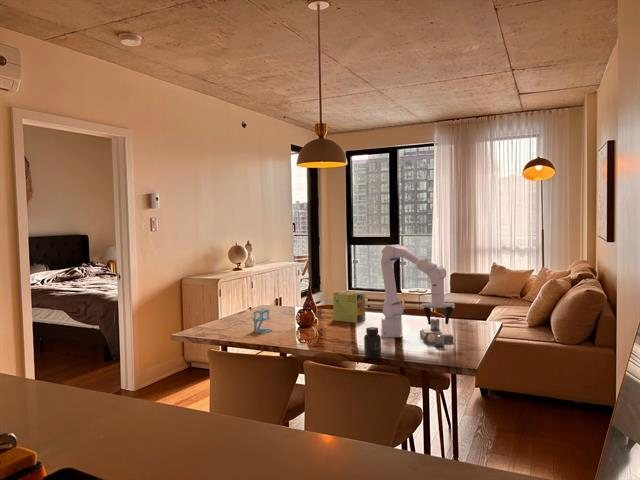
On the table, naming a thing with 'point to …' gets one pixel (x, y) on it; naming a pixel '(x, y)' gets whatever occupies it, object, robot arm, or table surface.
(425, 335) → the scale
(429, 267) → the robot arm
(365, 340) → the supplement bottle
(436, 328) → the cylinder
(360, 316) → the protein box
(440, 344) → the cylinder
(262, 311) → the teal open frame stand
